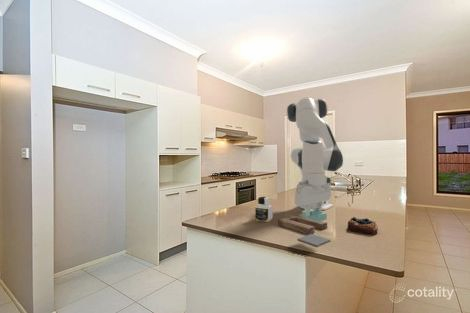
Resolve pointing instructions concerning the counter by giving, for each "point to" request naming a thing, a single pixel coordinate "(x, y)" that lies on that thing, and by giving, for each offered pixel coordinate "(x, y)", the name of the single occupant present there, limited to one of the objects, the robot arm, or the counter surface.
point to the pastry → (362, 226)
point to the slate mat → (314, 240)
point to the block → (315, 215)
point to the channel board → (302, 224)
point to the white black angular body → (263, 210)
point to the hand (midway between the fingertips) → (313, 214)
